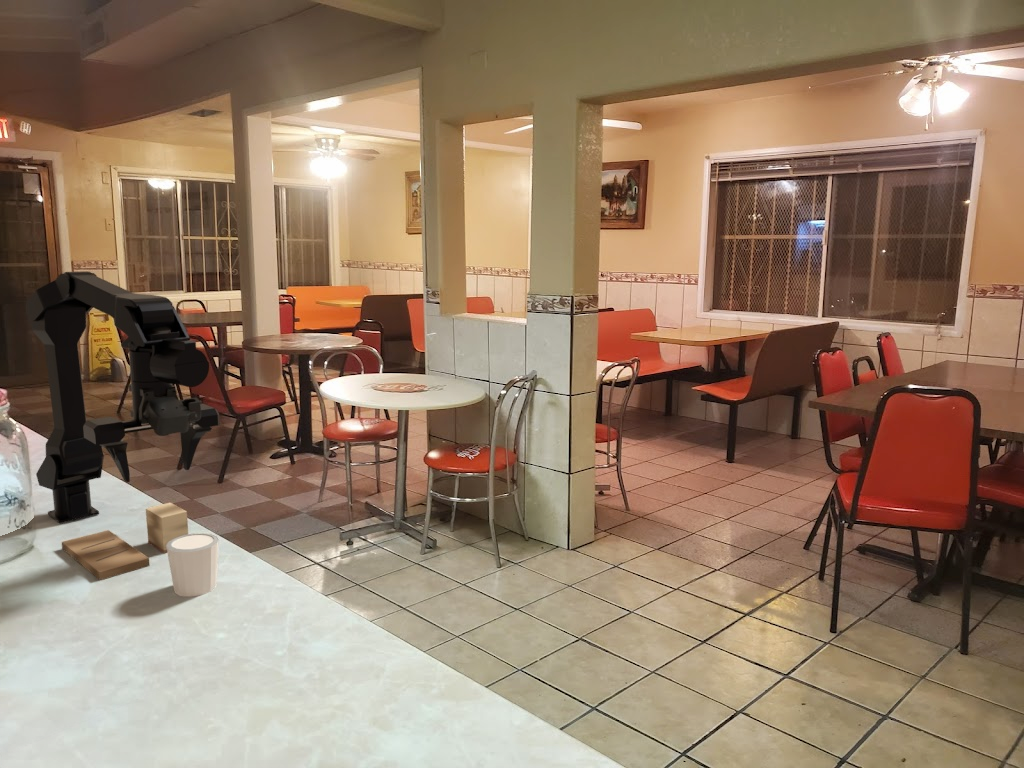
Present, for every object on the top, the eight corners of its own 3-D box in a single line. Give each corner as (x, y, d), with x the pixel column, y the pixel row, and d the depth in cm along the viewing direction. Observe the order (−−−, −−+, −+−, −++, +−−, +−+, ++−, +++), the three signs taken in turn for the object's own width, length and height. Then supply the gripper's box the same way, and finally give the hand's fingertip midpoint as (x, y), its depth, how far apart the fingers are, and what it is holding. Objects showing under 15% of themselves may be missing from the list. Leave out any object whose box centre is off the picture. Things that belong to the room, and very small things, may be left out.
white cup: (209, 599, 104) (206, 551, 102) (160, 598, 104) (156, 550, 103) (228, 577, 110) (226, 532, 109) (182, 576, 111) (179, 531, 109)
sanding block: (148, 543, 122) (145, 508, 121) (172, 536, 125) (170, 502, 124) (164, 553, 118) (161, 517, 117) (189, 546, 121) (186, 511, 120)
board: (62, 548, 119) (61, 541, 119) (109, 536, 124) (108, 529, 124) (100, 580, 109) (99, 572, 109) (149, 565, 114) (149, 558, 114)
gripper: (105, 395, 104) (113, 502, 107) (233, 379, 117) (237, 475, 120) (78, 383, 111) (86, 483, 114) (202, 369, 124) (206, 460, 127)
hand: (157, 475), depth 119 cm, fingers open, 9 cm apart
